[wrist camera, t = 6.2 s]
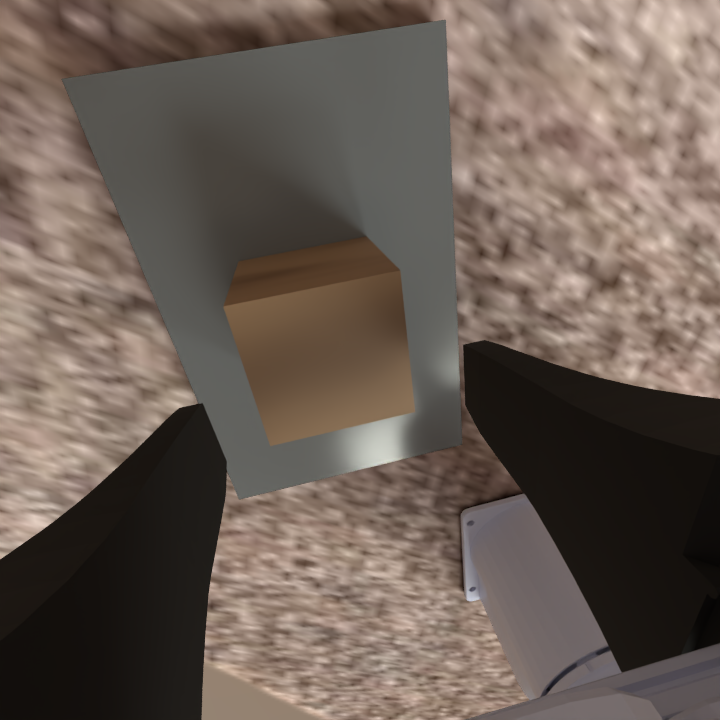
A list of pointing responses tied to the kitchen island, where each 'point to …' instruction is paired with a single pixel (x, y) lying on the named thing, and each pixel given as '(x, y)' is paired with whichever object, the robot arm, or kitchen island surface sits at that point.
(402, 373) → the cube
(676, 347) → the kitchen island surface
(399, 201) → the board
